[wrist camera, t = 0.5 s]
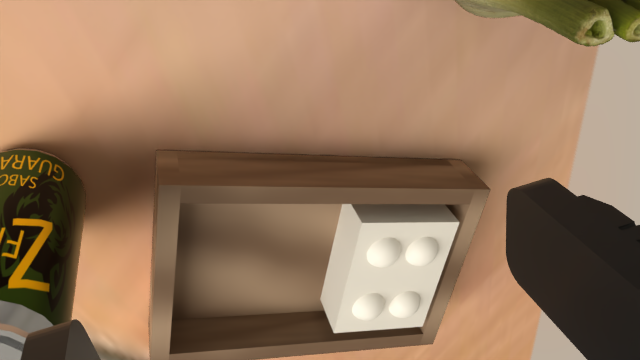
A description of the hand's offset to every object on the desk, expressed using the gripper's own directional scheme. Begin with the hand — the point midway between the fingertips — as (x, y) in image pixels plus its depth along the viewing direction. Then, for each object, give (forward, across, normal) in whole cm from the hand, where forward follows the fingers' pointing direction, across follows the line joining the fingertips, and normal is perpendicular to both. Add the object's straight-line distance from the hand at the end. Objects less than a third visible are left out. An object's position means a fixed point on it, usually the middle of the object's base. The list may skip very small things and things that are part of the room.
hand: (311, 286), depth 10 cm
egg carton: (+19, -7, +15) cm, 26 cm away
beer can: (+20, +10, +6) cm, 23 cm away
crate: (+20, -2, +14) cm, 24 cm away
